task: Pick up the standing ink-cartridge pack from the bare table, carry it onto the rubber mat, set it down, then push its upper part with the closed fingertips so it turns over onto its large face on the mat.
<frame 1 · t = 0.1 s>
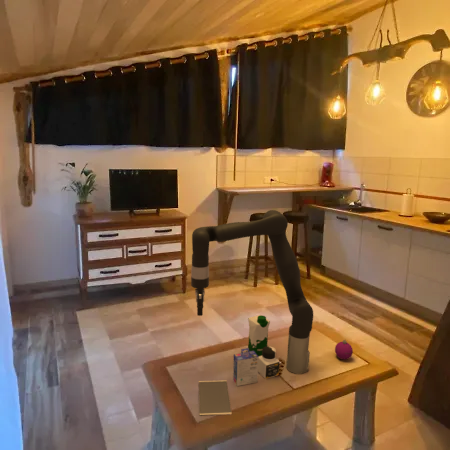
hand: (199, 310, 159), 29 cm above the table, fingers open, 8 cm apart
medicine bottle: (267, 373, 165), on the table
mat: (214, 397, 149), on the table
milk carton: (257, 353, 181), on the table
christmas ornament: (342, 358, 179), on the table
ink cartridge box: (245, 381, 160), on the table
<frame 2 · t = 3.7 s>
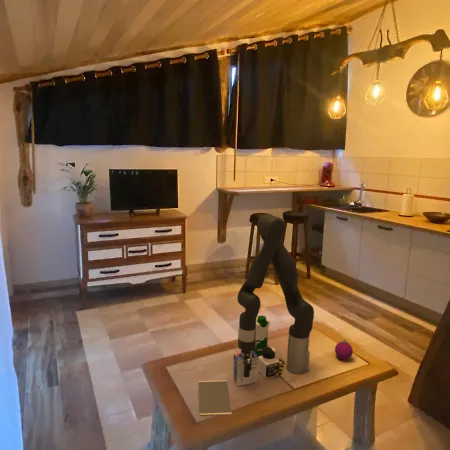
hand: (245, 372, 159), 4 cm above the table, fingers closed on ink cartridge box, 6 cm apart
ink cartridge box: (245, 381, 160), on the table, touching gripper
everything else where it was.
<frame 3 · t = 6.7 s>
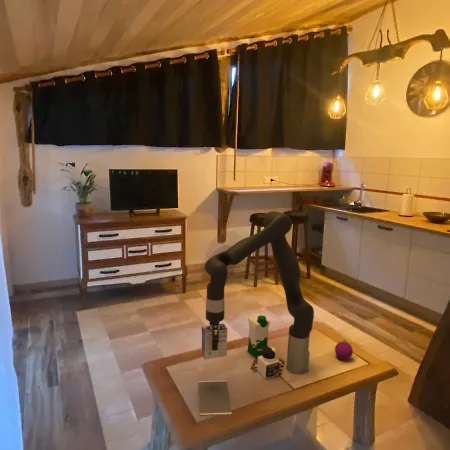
hand: (214, 345, 151), 19 cm above the table, fingers closed on ink cartridge box, 6 cm apart
ink cartridge box: (214, 355, 152), point 15 cm above the table, touching gripper
everything else where it was.
when the fingers open (5 cm above the table, at t = 9.6 s): ink cartridge box stays where it is, resting on mat.
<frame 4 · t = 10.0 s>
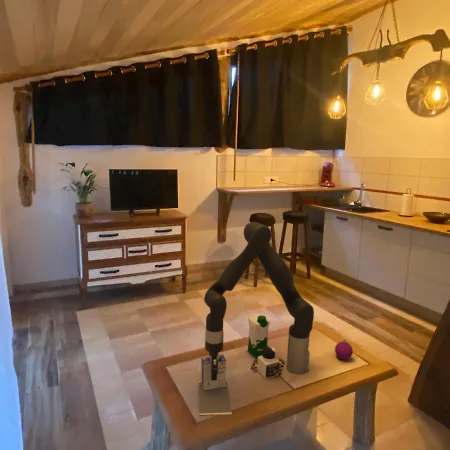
hand: (213, 373, 154), 6 cm above the table, fingers open, 8 cm apart
ink cartridge box: (213, 385, 155), resting on mat
everything else where it was.
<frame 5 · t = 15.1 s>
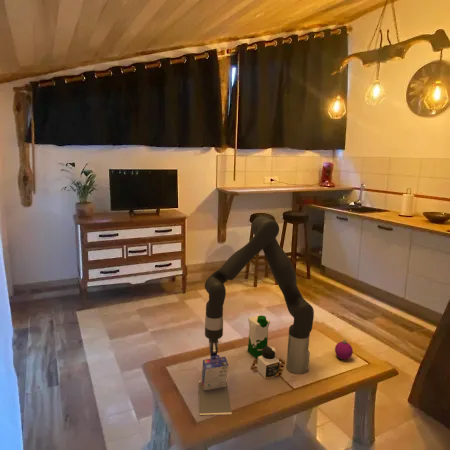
hand: (213, 362, 156), 9 cm above the table, fingers closed
ink cartridge box: (213, 383, 155), point 1 cm above the table, touching gripper, hand, mat
everything else where it was.
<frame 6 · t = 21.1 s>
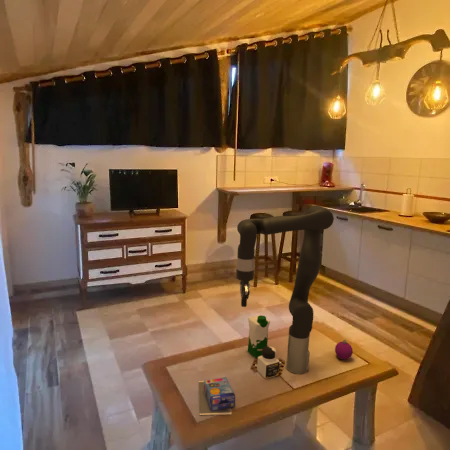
hand: (243, 306, 158), 32 cm above the table, fingers closed
ink cartridge box: (215, 383, 152), point 3 cm above the table, touching mat
everything else where it was.
at the end: ink cartridge box tilted 92°; ink cartridge box inside the target area (7.1 cm from its centre), point 3.2 cm above the table; the gripper is holding nothing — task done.
